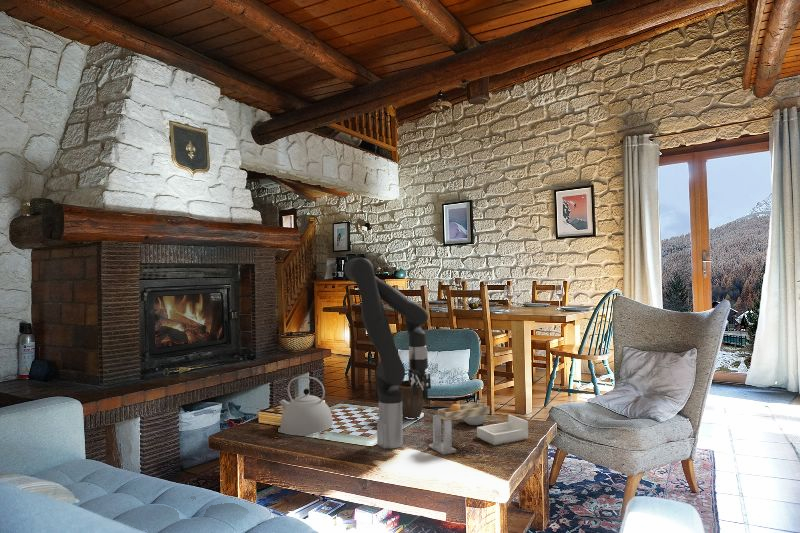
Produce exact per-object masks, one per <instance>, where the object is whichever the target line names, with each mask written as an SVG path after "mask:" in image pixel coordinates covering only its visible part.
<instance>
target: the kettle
mask: <svg viewBox="0 0 800 533" xmlns="http://www.w3.org/2000/svg"><path fill="white" fill-rule="evenodd" d="M299 379H309V380H310V379H312V380H314V381H316V382H317V383H318V384H320V386H321V389H322V397H321V398H320V397H318V396H315V395H311V394H310V389H309V388H305V389H303V394H304V395H299V396H297V397H295V398H294V399H293V397H292V396H291V392H290V386H291V383H292V382H294V381H295V380H299ZM286 391H287V395H288V398H289V400H290V402H289V401H287V400H285V399H282V400H279V401H278V402H279V404H280V405H281V406H283V408H284V409H283V412H282V414H281V417H280V429H279V430H280V431H281V433H282V434H286V435H291V436H311V435H310V434H313V433H316V432H320V431H324V430H327V429H329V428H331V427H332V425H333V423H334V422H333V414H332V410H331V409H330V407H329V405H328V404H327V403H326V402H325V401H324V398H325V395H326V391H325V387H324V385H323V383H322V382H321V381H320V380H319V379H318V378H316V377H313V376H307V375H305V376H303V375H302V376H301V375H300V376H296V377H294V378H292V379H290V381H289V382H288V385H287V390H286ZM332 428H333V427H332Z"/></svg>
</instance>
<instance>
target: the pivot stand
mask: <svg viewBox="0 0 800 533" xmlns="http://www.w3.org/2000/svg"><path fill="white" fill-rule="evenodd" d="M452 421H453V420H450V419H449V420H443V419H441V418H439V417H438V414H435V415H432V440H433V441H432V443H429V444H428V447H429V448H430V449H432V450H434V452H437V453H439V454H440V455H443V456H444V455H448V454H449V455H450V454H454V453H457V449H456V448H455V447H453V446H452V445H453V443H452V442H453V440H452V439H453V437H452V435H453V434H452V433H453V432H452V426H453V424H452V423H453V422H452ZM442 426H443V428H442ZM442 430H443V431H442ZM442 433H443V436H442ZM442 437H443V438H442ZM442 440H443V441H442Z"/></svg>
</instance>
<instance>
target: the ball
mask: <svg viewBox="0 0 800 533" xmlns="http://www.w3.org/2000/svg"><path fill="white" fill-rule="evenodd" d="M449 408H450V411H451V412H453V411H460V406H459V404H458V403H453V404H451V406H450V407H449Z"/></svg>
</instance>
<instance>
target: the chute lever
mask: <svg viewBox="0 0 800 533" xmlns="http://www.w3.org/2000/svg"><path fill="white" fill-rule="evenodd" d="M477 403H478V404H471V405H469V404H467V403H460V404H458V405H459V406H460V411H453V412H451V411H450V407H444V408H438V409H437V415H438V417H439V418H441V420H442V421H443V420H449V419H450V420H451V421H454V420H463V418H468V417H474V416H480V415H486V416H487V415H490V414H491V413H490V411H491V410H490V405H486V407H481V404H482V403H481V402H477Z"/></svg>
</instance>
